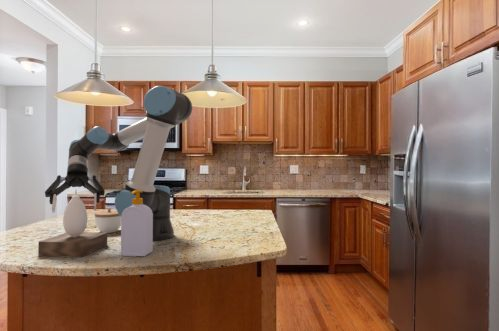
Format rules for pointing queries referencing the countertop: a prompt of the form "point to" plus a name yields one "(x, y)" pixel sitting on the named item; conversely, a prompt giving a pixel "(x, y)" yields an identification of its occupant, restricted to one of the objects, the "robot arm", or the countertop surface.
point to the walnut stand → (72, 244)
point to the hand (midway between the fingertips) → (74, 209)
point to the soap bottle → (137, 228)
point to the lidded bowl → (108, 221)
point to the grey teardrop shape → (75, 217)
